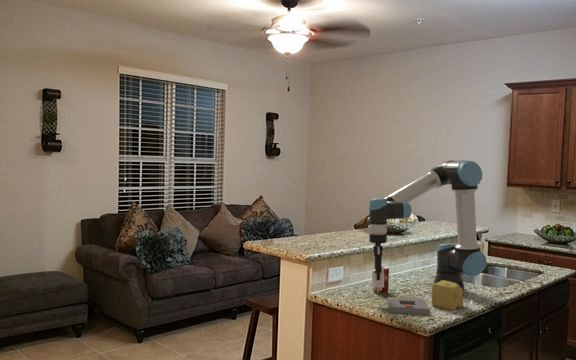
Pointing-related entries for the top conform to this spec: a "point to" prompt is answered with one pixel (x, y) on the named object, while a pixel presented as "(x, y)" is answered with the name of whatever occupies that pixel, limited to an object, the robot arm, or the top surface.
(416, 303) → the socket
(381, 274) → the plug
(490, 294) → the top surface
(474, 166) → the robot arm
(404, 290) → the top surface
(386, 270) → the soda can
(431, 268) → the top surface
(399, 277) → the top surface
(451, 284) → the cheese
